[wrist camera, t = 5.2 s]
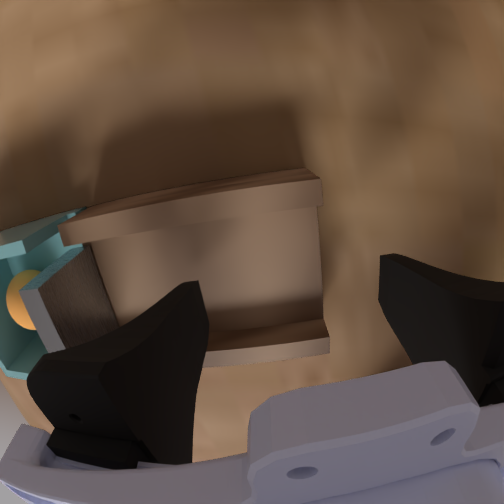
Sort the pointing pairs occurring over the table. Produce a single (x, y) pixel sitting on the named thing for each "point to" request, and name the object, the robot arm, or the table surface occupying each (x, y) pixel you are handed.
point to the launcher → (219, 260)
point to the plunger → (69, 301)
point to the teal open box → (7, 267)
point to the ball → (15, 300)
